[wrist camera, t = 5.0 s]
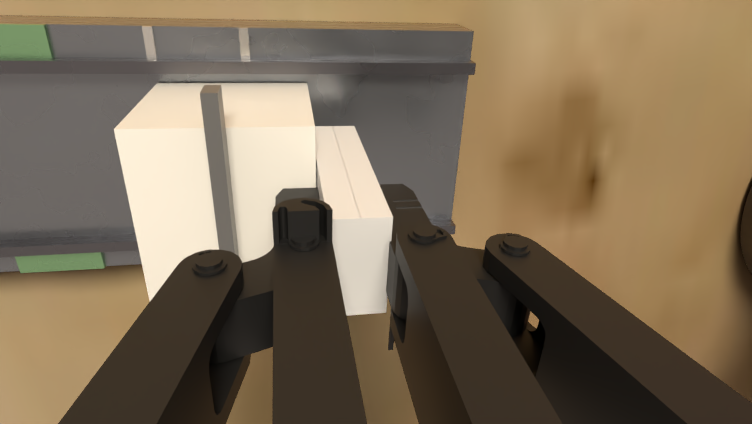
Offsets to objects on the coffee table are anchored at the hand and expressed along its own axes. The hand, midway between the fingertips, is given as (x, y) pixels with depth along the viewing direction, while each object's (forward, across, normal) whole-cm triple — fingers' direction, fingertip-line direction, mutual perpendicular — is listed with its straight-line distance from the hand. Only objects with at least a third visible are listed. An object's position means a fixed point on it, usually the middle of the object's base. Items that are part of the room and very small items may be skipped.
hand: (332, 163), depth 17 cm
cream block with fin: (+2, +3, 0) cm, 4 cm away
